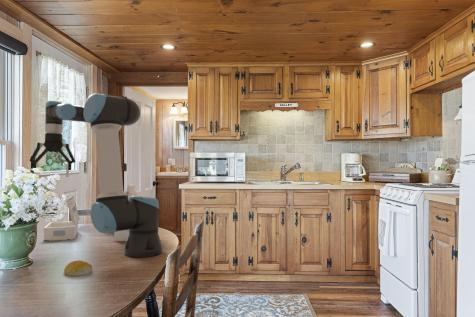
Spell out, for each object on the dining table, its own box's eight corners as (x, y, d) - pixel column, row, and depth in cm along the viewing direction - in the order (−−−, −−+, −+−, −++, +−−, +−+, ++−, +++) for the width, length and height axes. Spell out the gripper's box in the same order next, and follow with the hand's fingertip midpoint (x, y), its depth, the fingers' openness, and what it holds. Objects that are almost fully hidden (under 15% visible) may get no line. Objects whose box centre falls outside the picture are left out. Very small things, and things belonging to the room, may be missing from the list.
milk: (137, 241, 168) (138, 186, 168) (113, 240, 168) (114, 185, 168) (145, 236, 180) (146, 184, 180) (122, 235, 180) (123, 184, 180)
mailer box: (50, 233, 181) (50, 222, 182) (78, 232, 186) (78, 221, 186) (43, 240, 166) (43, 227, 166) (74, 239, 170) (74, 226, 170)
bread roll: (82, 267, 126) (83, 256, 126) (95, 273, 120) (96, 261, 121) (58, 273, 120) (59, 261, 120) (71, 278, 114) (71, 266, 114)
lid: (70, 196, 185) (73, 195, 185) (77, 220, 185) (80, 219, 186) (66, 199, 169) (69, 198, 169) (73, 225, 170) (76, 224, 170)
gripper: (81, 134, 182) (80, 176, 182) (27, 132, 175) (26, 176, 175) (80, 133, 175) (79, 177, 175) (23, 131, 167) (21, 176, 167)
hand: (52, 176), depth 175 cm, fingers open, 12 cm apart
